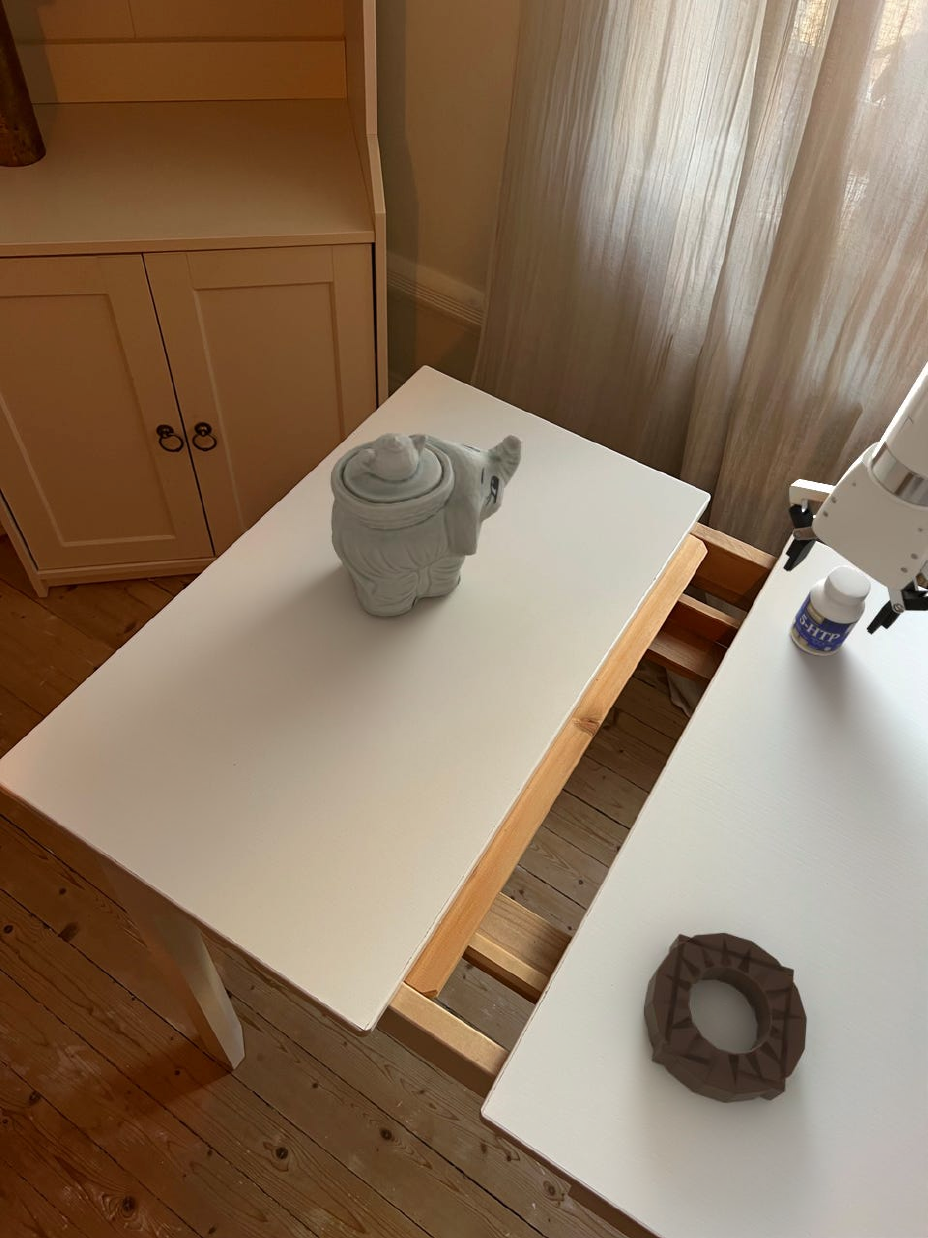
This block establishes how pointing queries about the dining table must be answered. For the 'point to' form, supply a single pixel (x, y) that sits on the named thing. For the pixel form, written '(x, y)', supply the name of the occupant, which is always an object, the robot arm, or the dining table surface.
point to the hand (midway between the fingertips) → (834, 593)
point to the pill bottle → (830, 611)
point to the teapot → (414, 513)
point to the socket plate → (696, 1055)
